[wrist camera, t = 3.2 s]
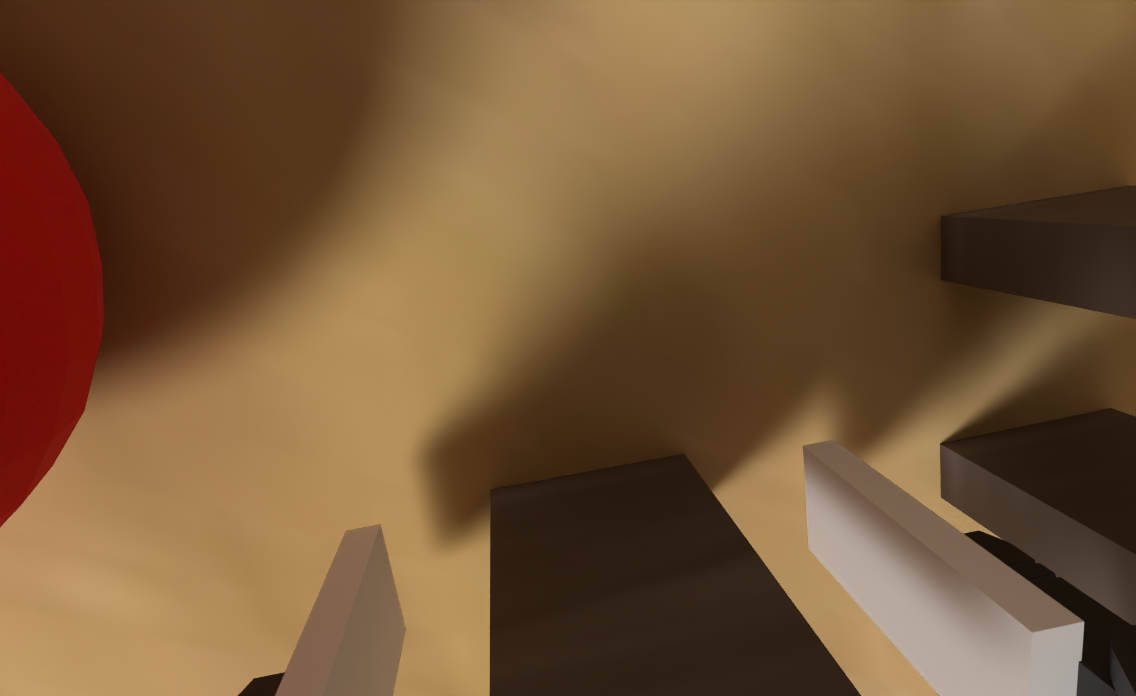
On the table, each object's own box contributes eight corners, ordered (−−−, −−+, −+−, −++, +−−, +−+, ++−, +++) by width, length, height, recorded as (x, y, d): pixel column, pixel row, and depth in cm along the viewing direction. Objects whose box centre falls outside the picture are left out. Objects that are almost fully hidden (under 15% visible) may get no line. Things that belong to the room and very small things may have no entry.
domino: (490, 489, 16) (489, 941, 6) (684, 453, 16) (958, 828, 7) (501, 546, 16) (515, 1051, 7) (690, 510, 17) (957, 938, 7)
